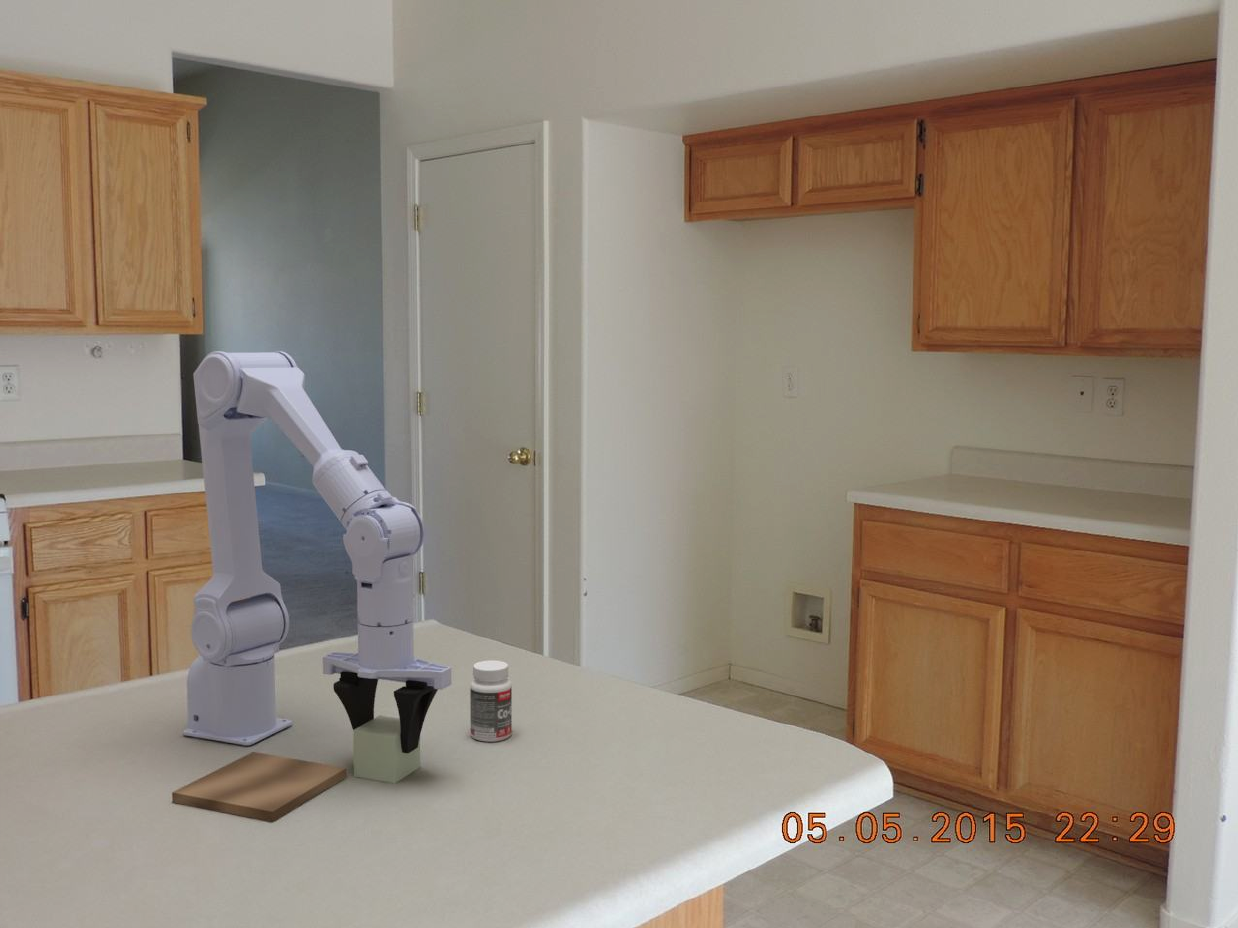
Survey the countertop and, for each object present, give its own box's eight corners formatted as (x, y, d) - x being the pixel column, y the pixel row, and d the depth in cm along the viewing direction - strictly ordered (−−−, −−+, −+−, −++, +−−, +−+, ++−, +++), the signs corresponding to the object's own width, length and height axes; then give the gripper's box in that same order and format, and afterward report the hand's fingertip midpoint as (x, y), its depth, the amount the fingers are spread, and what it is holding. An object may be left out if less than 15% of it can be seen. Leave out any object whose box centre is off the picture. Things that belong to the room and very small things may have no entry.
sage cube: (353, 776, 118) (353, 729, 118) (380, 759, 123) (379, 715, 122) (395, 783, 117) (394, 736, 116) (420, 766, 121) (420, 721, 121)
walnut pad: (172, 801, 111) (172, 792, 111) (253, 760, 122) (252, 751, 122) (272, 821, 107) (272, 811, 107) (346, 776, 118) (346, 767, 118)
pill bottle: (504, 744, 128) (504, 672, 127) (464, 740, 129) (464, 669, 128) (516, 730, 133) (516, 660, 132) (478, 727, 134) (478, 658, 133)
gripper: (304, 622, 117) (306, 749, 118) (426, 636, 112) (427, 769, 113) (344, 607, 123) (346, 728, 125) (461, 620, 118) (461, 746, 120)
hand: (387, 746), depth 119 cm, fingers closed on sage cube, 5 cm apart
